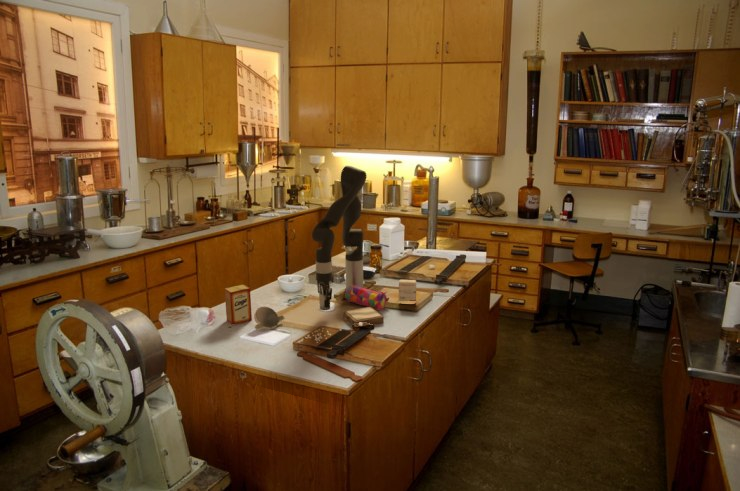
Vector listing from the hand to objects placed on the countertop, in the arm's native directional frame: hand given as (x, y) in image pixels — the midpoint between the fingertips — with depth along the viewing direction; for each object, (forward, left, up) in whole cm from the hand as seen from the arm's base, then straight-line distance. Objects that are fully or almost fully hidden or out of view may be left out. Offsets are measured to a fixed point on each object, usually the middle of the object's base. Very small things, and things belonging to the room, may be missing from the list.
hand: (324, 305), depth 261 cm
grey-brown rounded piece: (-2, -27, -7) cm, 28 cm away
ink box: (0, +44, -7) cm, 45 cm away
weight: (0, 0, -2) cm, 2 cm away
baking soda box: (-14, -37, -7) cm, 40 cm away
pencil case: (-7, +24, -7) cm, 26 cm away
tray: (+10, +15, -6) cm, 19 cm away
